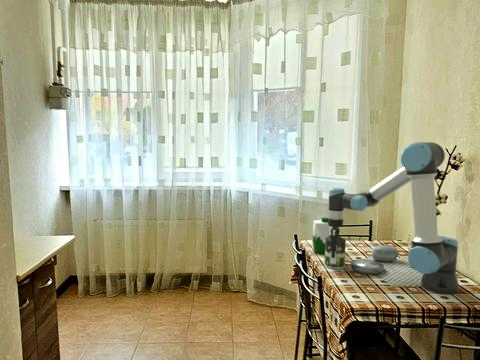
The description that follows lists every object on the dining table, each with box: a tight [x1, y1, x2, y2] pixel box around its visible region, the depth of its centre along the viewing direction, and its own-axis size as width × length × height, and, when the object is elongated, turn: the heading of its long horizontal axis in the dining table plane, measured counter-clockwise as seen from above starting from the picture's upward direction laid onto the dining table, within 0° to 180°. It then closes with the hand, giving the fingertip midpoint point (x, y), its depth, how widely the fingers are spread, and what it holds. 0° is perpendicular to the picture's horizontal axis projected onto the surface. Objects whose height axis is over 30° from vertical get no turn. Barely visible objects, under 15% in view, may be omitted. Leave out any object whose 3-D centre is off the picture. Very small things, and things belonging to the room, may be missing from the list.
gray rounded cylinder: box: [371, 244, 399, 262], centre depth 204 cm, size 14×10×10 cm
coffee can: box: [324, 236, 347, 270], centre depth 194 cm, size 10×10×14 cm
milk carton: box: [312, 217, 331, 255], centre depth 217 cm, size 9×9×20 cm
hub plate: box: [350, 258, 385, 276], centre depth 190 cm, size 16×16×3 cm
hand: (334, 260), depth 195 cm, fingers closed on coffee can, 10 cm apart
